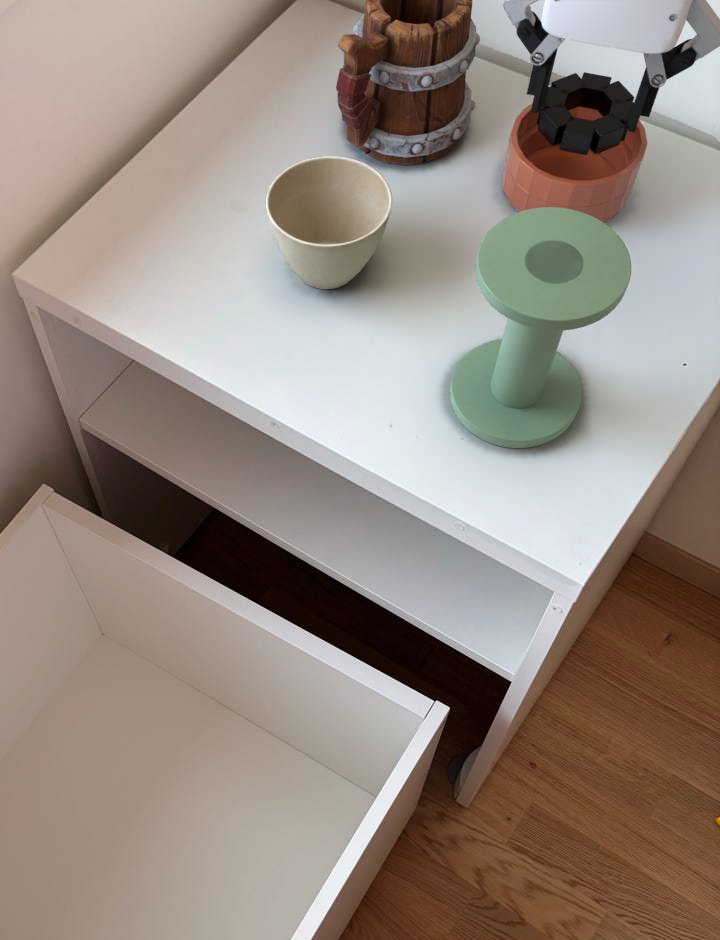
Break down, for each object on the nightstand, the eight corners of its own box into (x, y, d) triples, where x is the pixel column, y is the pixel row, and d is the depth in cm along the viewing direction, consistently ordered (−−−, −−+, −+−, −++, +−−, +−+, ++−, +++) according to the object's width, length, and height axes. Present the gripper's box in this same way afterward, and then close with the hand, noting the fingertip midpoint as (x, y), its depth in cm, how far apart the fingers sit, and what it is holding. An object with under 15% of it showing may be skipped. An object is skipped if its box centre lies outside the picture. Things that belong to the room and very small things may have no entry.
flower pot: (388, 310, 83) (395, 244, 76) (268, 313, 84) (265, 248, 77) (383, 222, 87) (389, 152, 81) (269, 226, 88) (266, 156, 81)
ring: (635, 102, 83) (642, 82, 81) (617, 161, 80) (624, 142, 78) (549, 86, 84) (554, 66, 82) (528, 144, 81) (533, 124, 80)
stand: (591, 363, 80) (645, 224, 67) (562, 462, 76) (614, 335, 63) (468, 333, 81) (498, 193, 69) (434, 429, 78) (460, 300, 65)
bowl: (640, 156, 89) (658, 105, 84) (614, 244, 84) (632, 196, 80) (517, 132, 91) (529, 81, 86) (487, 217, 87) (497, 168, 82)
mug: (505, 112, 91) (518, -40, 77) (401, 219, 90) (395, 84, 76) (408, 57, 95) (403, -97, 81) (306, 159, 94) (284, 20, 80)
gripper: (803, -148, 64) (703, 100, 81) (536, -184, 68) (492, 61, 84) (786, -79, 62) (686, 164, 78) (509, -120, 65) (468, 121, 81)
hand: (586, 109), depth 81 cm, fingers closed on ring, 7 cm apart
